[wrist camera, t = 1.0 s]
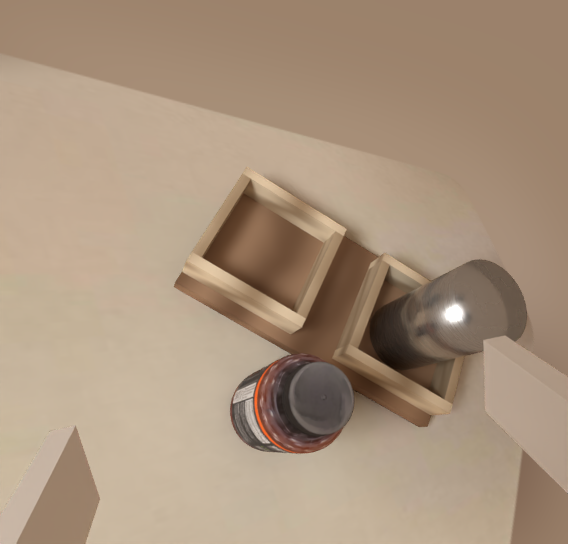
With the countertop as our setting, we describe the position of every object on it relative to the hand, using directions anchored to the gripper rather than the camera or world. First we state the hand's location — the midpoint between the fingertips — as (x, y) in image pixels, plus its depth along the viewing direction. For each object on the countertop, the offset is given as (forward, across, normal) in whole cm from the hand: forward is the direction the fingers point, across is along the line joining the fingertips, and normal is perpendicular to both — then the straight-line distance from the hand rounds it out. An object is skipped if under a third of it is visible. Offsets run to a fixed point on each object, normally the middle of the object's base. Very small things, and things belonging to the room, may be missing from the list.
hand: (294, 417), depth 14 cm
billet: (+23, +12, -10) cm, 27 cm away
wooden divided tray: (+24, +6, -6) cm, 26 cm away
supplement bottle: (+18, -1, -12) cm, 22 cm away
